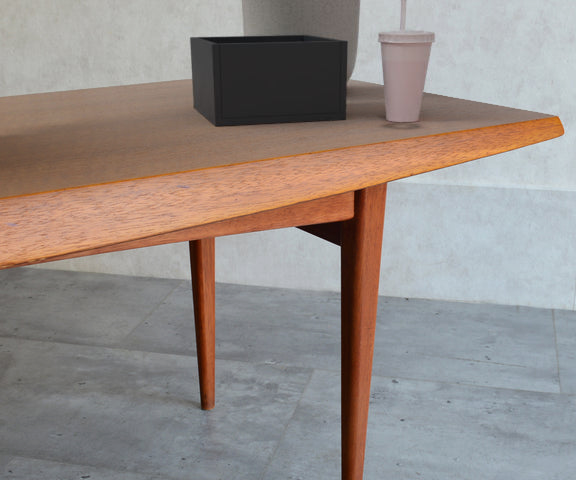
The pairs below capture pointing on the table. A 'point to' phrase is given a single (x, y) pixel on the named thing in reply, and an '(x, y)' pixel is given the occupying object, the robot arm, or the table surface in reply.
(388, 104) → the smoothie
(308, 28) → the planter
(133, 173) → the table surface
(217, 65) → the storage bin
